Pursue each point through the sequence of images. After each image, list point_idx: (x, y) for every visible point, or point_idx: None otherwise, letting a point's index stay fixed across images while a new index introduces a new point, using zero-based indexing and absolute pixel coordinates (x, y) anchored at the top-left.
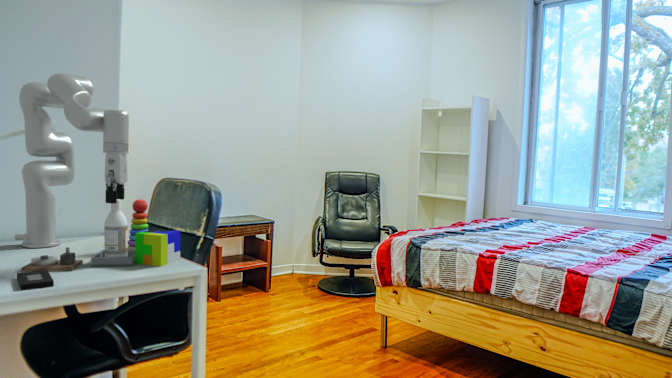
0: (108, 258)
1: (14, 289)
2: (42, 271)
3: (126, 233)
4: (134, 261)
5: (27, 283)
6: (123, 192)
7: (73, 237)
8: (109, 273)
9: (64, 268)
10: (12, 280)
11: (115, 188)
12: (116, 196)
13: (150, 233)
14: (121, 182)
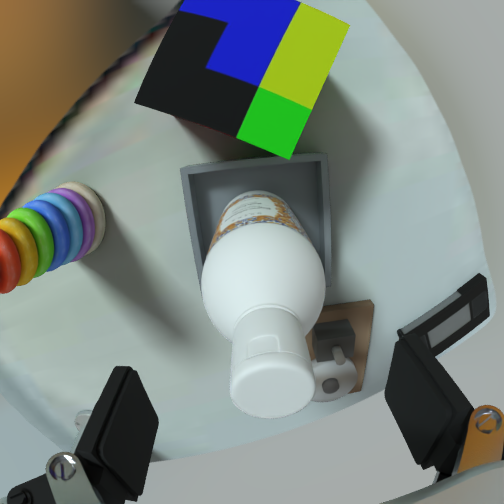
0: (330, 233)
1: None
2: None
3: (268, 211)
4: None
5: (487, 310)
6: (112, 414)
7: (30, 398)
8: (404, 194)
9: (370, 318)
10: None
11: (478, 431)
12: (439, 368)
13: (289, 80)
14: (497, 476)
